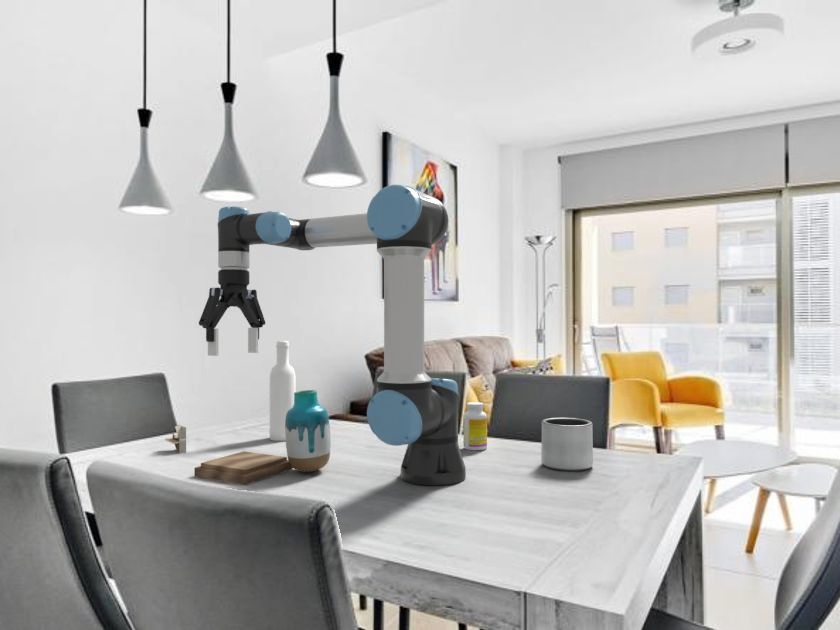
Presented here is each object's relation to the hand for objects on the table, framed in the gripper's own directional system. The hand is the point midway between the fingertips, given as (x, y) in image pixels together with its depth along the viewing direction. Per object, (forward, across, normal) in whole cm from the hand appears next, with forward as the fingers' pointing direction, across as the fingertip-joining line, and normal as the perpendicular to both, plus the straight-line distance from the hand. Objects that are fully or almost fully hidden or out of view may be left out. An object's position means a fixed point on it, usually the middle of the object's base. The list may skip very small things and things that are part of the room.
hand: (233, 354), depth 151 cm
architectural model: (+29, -5, -26) cm, 39 cm away
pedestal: (+28, +4, +7) cm, 29 cm away
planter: (+28, -38, +74) cm, 88 cm away
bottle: (+28, -32, -12) cm, 44 cm away
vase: (+28, -4, +20) cm, 35 cm away
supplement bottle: (+28, -46, +46) cm, 71 cm away
